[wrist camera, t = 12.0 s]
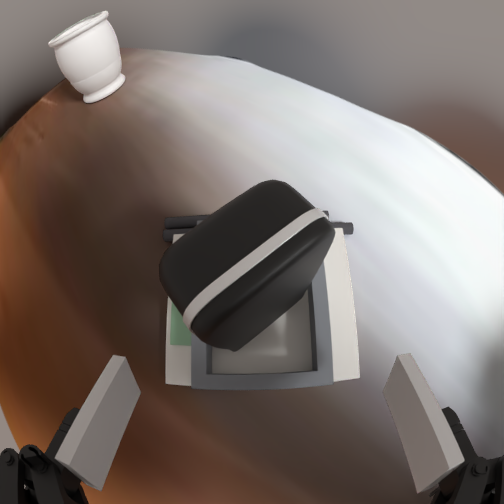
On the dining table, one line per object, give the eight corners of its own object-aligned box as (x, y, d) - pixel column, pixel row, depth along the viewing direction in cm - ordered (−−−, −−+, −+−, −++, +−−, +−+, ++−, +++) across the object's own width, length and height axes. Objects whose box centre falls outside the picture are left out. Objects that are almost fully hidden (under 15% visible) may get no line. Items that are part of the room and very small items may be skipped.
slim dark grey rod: (346, 214, 23) (349, 208, 22) (350, 236, 22) (354, 230, 21) (168, 221, 24) (165, 215, 23) (165, 243, 23) (162, 238, 22)
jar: (97, 111, 33) (62, 38, 19) (71, 105, 35) (39, 46, 22) (142, 74, 36) (119, 5, 23) (111, 73, 39) (88, 15, 25)
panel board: (339, 233, 22) (348, 215, 20) (355, 377, 18) (369, 378, 15) (177, 239, 23) (166, 222, 20) (170, 383, 18) (155, 385, 15)
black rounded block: (273, 258, 21) (280, 150, 10) (306, 294, 20) (351, 212, 9) (199, 314, 19) (128, 253, 9) (231, 356, 18) (187, 344, 8)
